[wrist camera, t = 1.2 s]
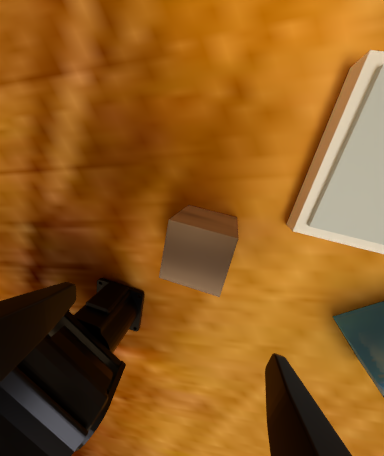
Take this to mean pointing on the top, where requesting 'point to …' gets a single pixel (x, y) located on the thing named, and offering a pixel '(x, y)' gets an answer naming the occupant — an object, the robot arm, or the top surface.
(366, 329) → the perfume bottle
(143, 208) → the top surface
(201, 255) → the block
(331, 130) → the base
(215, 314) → the top surface
